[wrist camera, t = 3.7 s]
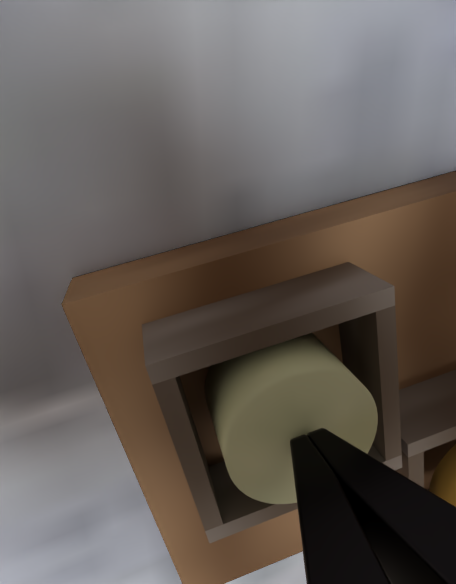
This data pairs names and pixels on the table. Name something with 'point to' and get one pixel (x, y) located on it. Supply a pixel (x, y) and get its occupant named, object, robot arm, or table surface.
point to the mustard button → (445, 478)
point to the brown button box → (267, 332)
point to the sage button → (283, 411)
